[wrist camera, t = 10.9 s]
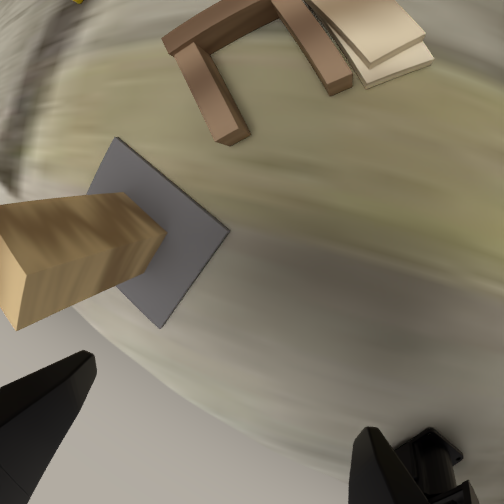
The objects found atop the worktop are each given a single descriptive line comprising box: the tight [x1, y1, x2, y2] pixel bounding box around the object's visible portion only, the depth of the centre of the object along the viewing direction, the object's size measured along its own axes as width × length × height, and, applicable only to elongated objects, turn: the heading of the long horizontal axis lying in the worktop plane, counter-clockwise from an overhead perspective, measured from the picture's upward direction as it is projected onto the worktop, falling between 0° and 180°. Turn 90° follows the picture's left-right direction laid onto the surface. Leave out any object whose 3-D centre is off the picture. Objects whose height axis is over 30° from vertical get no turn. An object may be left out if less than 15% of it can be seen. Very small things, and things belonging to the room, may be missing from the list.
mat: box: [86, 137, 230, 329], centre depth 23 cm, size 12×10×1 cm
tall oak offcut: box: [0, 192, 167, 331], centre depth 17 cm, size 5×4×12 cm
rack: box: [161, 0, 434, 146], centre depth 16 cm, size 9×15×3 cm, turn 116°
